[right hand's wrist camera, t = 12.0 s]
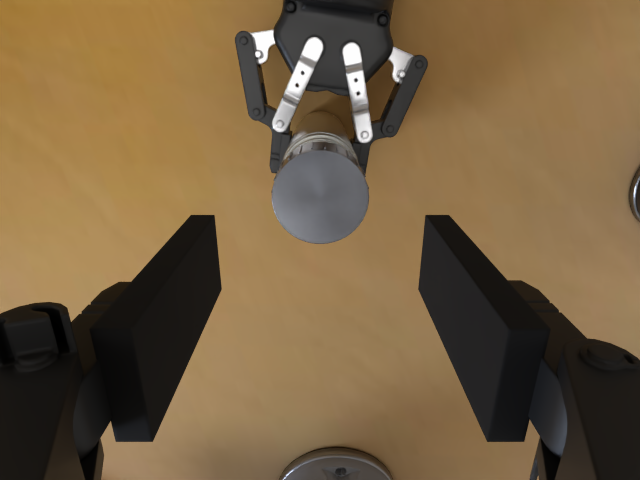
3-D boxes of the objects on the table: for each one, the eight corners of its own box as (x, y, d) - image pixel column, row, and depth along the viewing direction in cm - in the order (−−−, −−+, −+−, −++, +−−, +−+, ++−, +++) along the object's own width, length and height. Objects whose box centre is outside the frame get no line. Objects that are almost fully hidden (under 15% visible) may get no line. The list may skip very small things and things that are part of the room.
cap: (263, 156, 22) (256, 166, 20) (350, 128, 22) (354, 135, 19) (292, 236, 24) (289, 255, 21) (374, 213, 23) (380, 229, 21)
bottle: (287, 120, 38) (257, 164, 20) (337, 104, 38) (354, 134, 19) (303, 170, 40) (289, 252, 22) (352, 155, 39) (379, 226, 21)
